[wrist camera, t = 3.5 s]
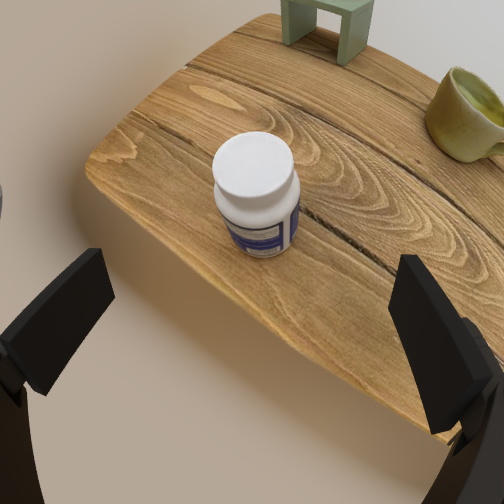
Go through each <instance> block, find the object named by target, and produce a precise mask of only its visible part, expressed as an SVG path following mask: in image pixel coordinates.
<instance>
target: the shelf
mask: <svg viewBox="0 0 504 504" xmlns="http://www.w3.org/2000/svg"><path fill="white" fill-rule="evenodd" d="M373 5H374V0H281V19H282V42H283V44H286V45H291V44H293V43H294V42H296V41H297V40H299V39H300V38H302V37H303V36H305V35H307V34H308V33H310V32H311V31H313V30H315V29H316V21H317V8H319V9H322V10H326V11H329V12H332V13H335V14H338V15H341V16H342V20H341V30H340V38H339V47H338V55H337V64H339V65H342V66H345V65H346V64H347V63H348V62H350V61H351V60H352V59H353V58H354V57H355V56H356V55H358V54H359V53H360V52H361V51H362V50H363V49H365V48H366V45H367V39H368V34H369V28H370V23H371V17H372V11H373Z"/></svg>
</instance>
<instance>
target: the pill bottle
mask: <svg viewBox="0 0 504 504" xmlns="http://www.w3.org/2000/svg"><path fill="white" fill-rule="evenodd" d="M212 171H213V176H214V179H215V185H214V197H215V201H216V204H217V207H218V209H219V211H220V213H221V215H222V218H223V220H224V222H225V224H226V226H227V228H228V230H229V232H230V234H231V236H232V238H233V240H234V242H235V243H236V245H237V246H238V247H239V248H240V249H241V250H242V251H243V252H245V253H247V254H249V255H251V256H254V257H259V258H267V257H273V256H275V255H278V254H280V253H282V252H283V251H285V250H286V249H287V248H288V247H289V246H290V245H291V243H292V242H293V240H294V238H295V236H296V232H297V226H298V214H299V204H300V182H299V178H298V175H297V173H296V171H295V169H294V160H293V155H292V152H291V150H290V148H289V147H288V145H287V144H286V143H285V142H284V141H283V140H281V139H280V138H278V137H277V136H275V135H272V134H269V133H265V132H246V133H242V134H239V135H237V136H234V137H232V138H231V139H229V140H228V141H226V142H225V143H224V144H223V145H222V146H221V147H220V148H219V149H218V151H217V153H216V154H215V157H214V159H213V165H212Z"/></svg>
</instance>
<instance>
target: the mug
mask: <svg viewBox="0 0 504 504" xmlns="http://www.w3.org/2000/svg"><path fill="white" fill-rule="evenodd" d="M425 119H426V126H427V128H428V130H429V132H430V135H431V136H432V138H433V140H434V142H435V144H436V145H437V146H438V147H439V148H440V149H442V150H443V151H444V152H445V153H447V154H449V155H450V156H451V157H453V158H455V159H456V160H459V161H461V162H465V163H467V162H473V161H475V160H477V159H480V158H487V157H490V156H496V155H499V156H504V143H502V142H499V141H502V140H504V103H503V102H502V100H501V99H500V97H499V96H498V95H497V94H496V92H495V91H494V90H493V89H492V88H491V87H490V86H489V85H488V84H487V83H486V82H485V81H484V80H483V79H481V78H480V77H479V76H477V75H476V74H474V73H473V72H469V71H467V70H465V69H463V68H461V67H457V66H456V67H453V68H451V69H450V70H449V72H448V73H447V74H446V76H445V77H444V78H443V80H442V82H441V84H440V86H439V88H438V90H437V93H436V95H435V97H434V99H433V100H432V102H431V103H430V105H429V107H428V108H427V111H426V114H425ZM498 142H499V143H498Z"/></svg>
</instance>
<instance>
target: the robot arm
mask: <svg viewBox="0 0 504 504" xmlns="http://www.w3.org/2000/svg"><path fill="white" fill-rule="evenodd" d="M114 298H115V295H114V292H113V288H112V285H111V282H110V279H109V275H108V272H107V268H106V265H105V261H104V258H103V254H102V250H101V248H89V249H87V250H86V251H85V252H84V253H83V254H82V255H80V256H79V257H78V258H77V259H76V260H75V261H74V262H73V263H71V264H70V266H68V267H67V268H66V269H65V270H64V271H63V272H62V273H61V274H59V276H57V277H56V278H55V279H54V280H53V281H52V282H51V283H50V284H49V285H48V286H47V287H46V288H45V289H44V290H43V291H42V292H41V293H40V294H39V295H38V296H37V297H36V298H35V299H34V300H33V301H32V302H31V303H30V304H29V305H28V306H27V307H26V308H25V309H24V310H23V311H22V312H21V313H20V314H19V315H18V316H17V318H15V320H14V321H13V322H12V323H11V324H10V325H9V326H8V327H7V328H6V329H5V331H4V332H3V333H2V334H1V335H0V504H45V503H44V499H43V496H42V492H41V488H40V484H39V480H38V475H37V471H36V466H35V460H34V455H33V449H32V442H31V435H30V427H29V416H28V403H27V391H26V388H25V387H24V386H23V384H24V383H25V381H27V382H28V384H29V385H30V386H31V388H32V389H33V390H34V391H35V392H37V393H40V394H42V395H44V396H47V394H48V392H49V391H50V389H51V388H52V386H53V385H54V383H55V381H56V380H57V378H58V377H59V375H60V374H61V372H62V371H63V369H64V368H65V366H66V365H67V363H68V362H69V360H70V359H71V357H72V356H73V354H74V353H75V352H76V350H77V348H78V347H79V346H80V345H81V343H82V342H83V340H84V339H85V337H86V336H87V335H88V333H89V332H90V331H91V329H92V328H93V326H94V325H95V324H96V322H97V321H98V320H99V318H100V317H101V316H102V314H103V313H104V312H105V310H106V309H107V308H108V306H109V305H110V304H111V302H112V301H113V300H114ZM388 310H389V312H390V315H391V317H392V319H393V322H394V324H395V327H396V329H397V332H398V334H399V337H400V340H401V342H402V345H403V348H404V350H405V353H406V356H407V358H408V361H409V364H410V367H411V370H412V373H413V376H414V379H415V382H416V385H417V388H418V391H419V394H420V397H421V400H422V404H423V407H424V410H425V414H426V417H427V421H428V424H429V428H430V432H431V435H433V434H437V433H441V432H445V431H449V430H451V429H452V428H453V427H454V426H455V424H456V423H457V422H458V421H459V420H460V423H461V427H462V428H461V429H460V430H459V431H458V432H457V433H456V435H455V436H454V437H453V438H452V439H451V440H450V441H449V442H448V444H447V445H448V446H450V445H451V444H452V443H453V442H454V443H453V445H452V447H451V449H450V452H449V454H448V456H447V458H446V460H445V462H444V464H443V466H442V468H441V470H440V472H439V474H438V476H437V478H436V479H435V481H434V483H433V485H432V487H431V488H430V490H429V492H428V494H427V495H426V497H425V499H424V500H423V502H422V503H421V504H504V372H503V370H502V369H501V367H500V365H499V363H498V361H497V360H496V358H495V356H494V354H493V352H492V351H491V349H490V347H488V344H487V342H486V341H485V339H484V338H483V336H482V334H481V332H480V331H479V329H478V328H477V326H476V325H475V324H474V323H472V322H471V321H470V320H469V319H468V318H467V317H465V318H461V317H460V316H459V314H458V312H457V311H456V309H455V308H454V306H453V305H452V303H451V302H450V300H449V299H448V297H447V296H446V294H445V293H444V291H443V290H442V289H441V287H440V286H439V284H438V283H437V281H436V280H435V279H434V277H433V276H432V274H431V273H430V272H429V270H428V269H427V268H426V266H425V265H424V264H423V262H422V261H421V260H420V258H419V257H418V256H417V255H408V254H401V257H400V262H399V266H398V271H397V275H396V279H395V283H394V287H393V291H392V295H391V299H390V302H389V306H388Z"/></svg>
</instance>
